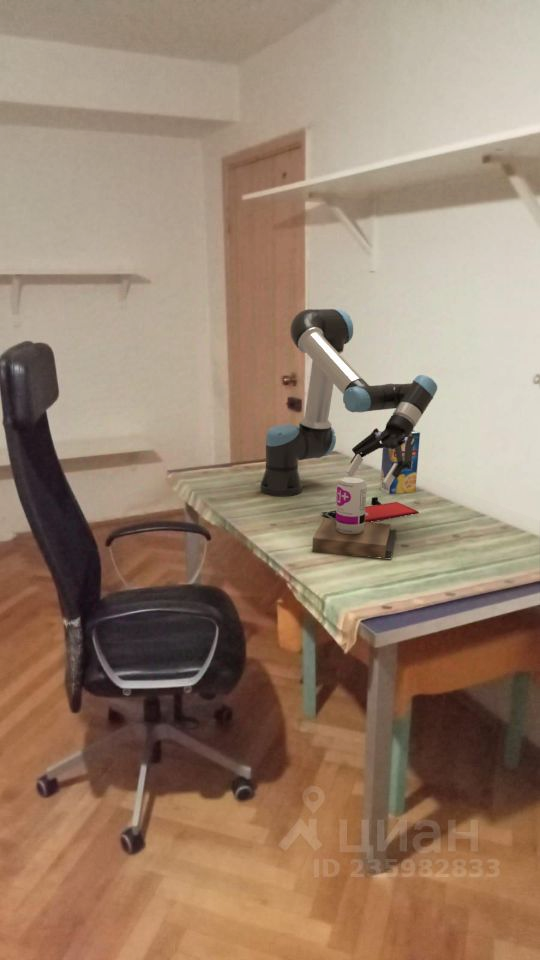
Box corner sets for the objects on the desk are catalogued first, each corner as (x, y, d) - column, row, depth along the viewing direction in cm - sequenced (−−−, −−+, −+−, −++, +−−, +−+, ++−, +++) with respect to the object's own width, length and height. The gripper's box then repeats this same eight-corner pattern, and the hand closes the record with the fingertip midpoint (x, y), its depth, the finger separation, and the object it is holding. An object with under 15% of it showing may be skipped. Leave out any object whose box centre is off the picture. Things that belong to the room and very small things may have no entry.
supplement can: (346, 537, 186) (348, 485, 182) (329, 527, 193) (331, 477, 189) (369, 532, 189) (372, 481, 185) (353, 523, 196) (355, 474, 192)
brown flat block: (312, 551, 186) (312, 537, 184) (323, 530, 202) (323, 517, 201) (390, 559, 181) (391, 545, 180) (395, 537, 197) (396, 524, 196)
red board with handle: (317, 513, 218) (344, 528, 206) (317, 505, 218) (344, 519, 205) (389, 502, 233) (418, 515, 220) (390, 494, 232) (419, 507, 219)
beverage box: (415, 491, 245) (420, 432, 239) (389, 494, 241) (393, 434, 235) (405, 486, 251) (409, 429, 245) (379, 489, 247) (383, 430, 241)
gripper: (443, 436, 190) (407, 496, 184) (375, 422, 207) (340, 477, 202) (434, 420, 185) (397, 481, 179) (365, 407, 203) (329, 463, 197)
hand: (367, 479), depth 191 cm, fingers open, 13 cm apart
